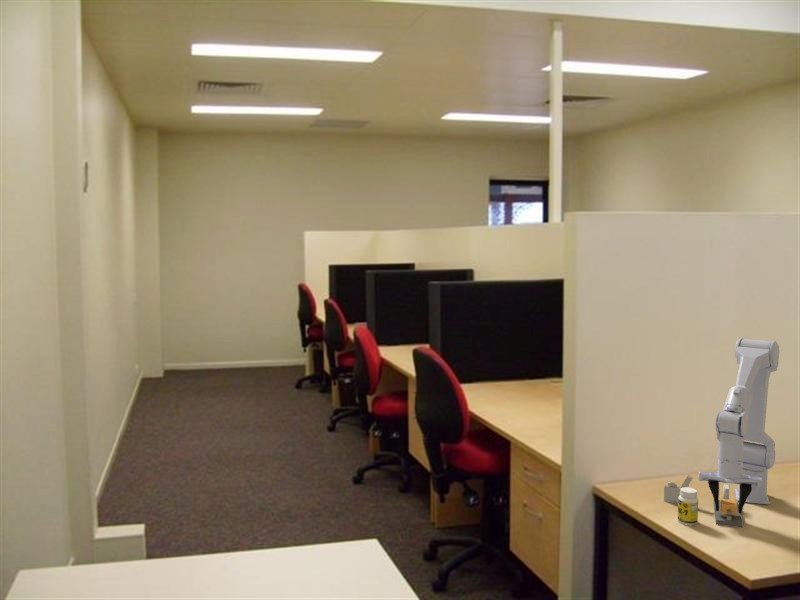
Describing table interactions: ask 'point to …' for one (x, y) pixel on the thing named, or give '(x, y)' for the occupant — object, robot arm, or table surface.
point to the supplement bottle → (688, 506)
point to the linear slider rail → (726, 518)
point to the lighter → (674, 490)
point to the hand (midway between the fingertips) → (728, 510)
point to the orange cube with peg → (728, 506)
